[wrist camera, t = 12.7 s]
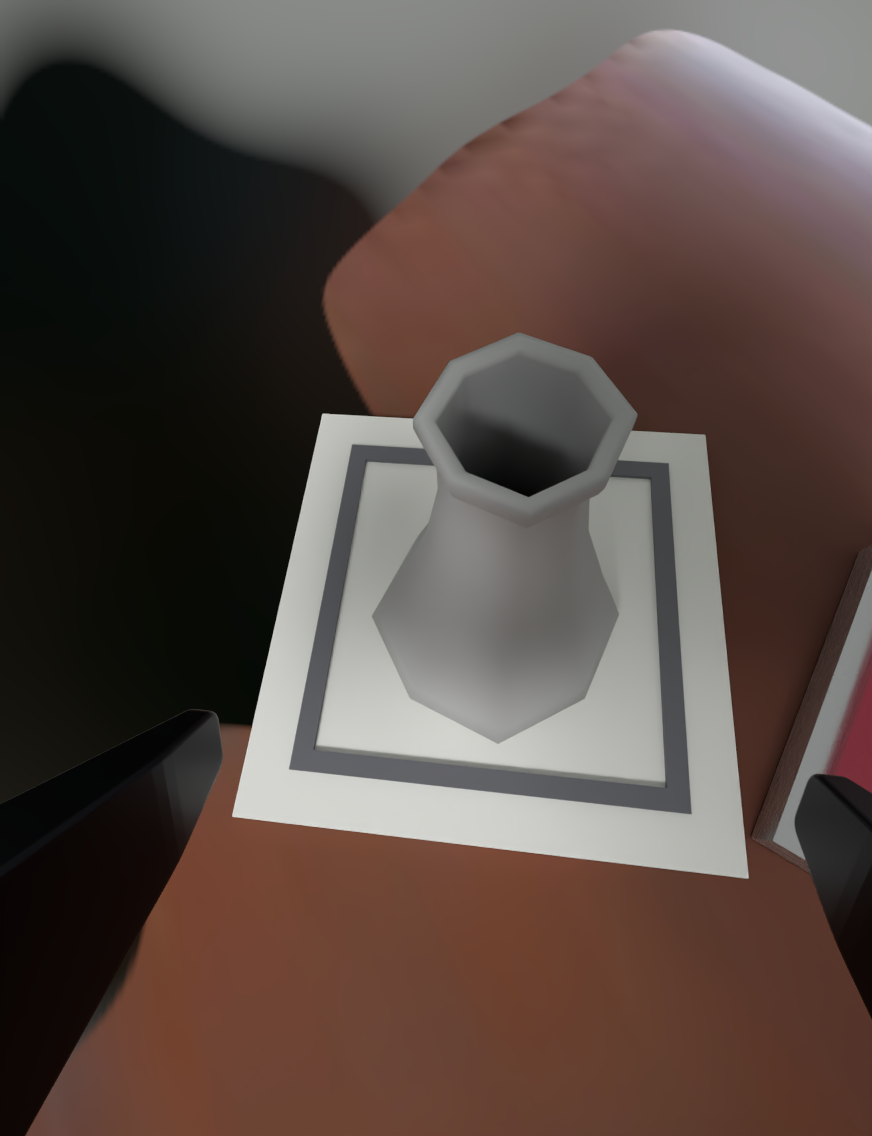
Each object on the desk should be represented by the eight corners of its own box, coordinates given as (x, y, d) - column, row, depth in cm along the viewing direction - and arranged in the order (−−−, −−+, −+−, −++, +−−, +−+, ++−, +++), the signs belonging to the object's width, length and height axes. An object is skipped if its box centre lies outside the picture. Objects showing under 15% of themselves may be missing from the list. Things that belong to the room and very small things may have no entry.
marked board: (741, 877, 15) (751, 879, 14) (237, 816, 16) (230, 816, 16) (701, 441, 20) (707, 432, 20) (325, 420, 21) (321, 411, 21)
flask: (333, 618, 18) (192, 423, 9) (489, 479, 20) (509, 192, 10) (499, 792, 16) (547, 778, 6) (658, 617, 17) (876, 407, 8)
